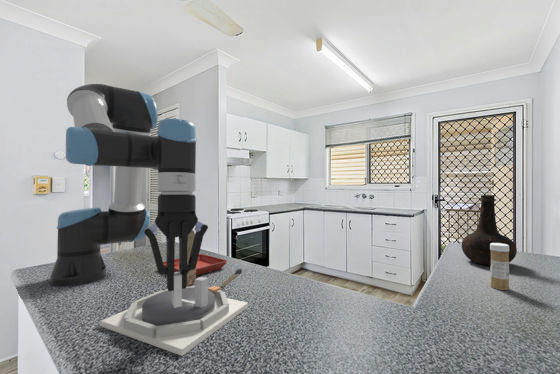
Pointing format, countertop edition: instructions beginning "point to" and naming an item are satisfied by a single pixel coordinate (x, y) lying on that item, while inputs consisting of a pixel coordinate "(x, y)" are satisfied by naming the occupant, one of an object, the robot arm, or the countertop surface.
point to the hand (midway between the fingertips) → (176, 304)
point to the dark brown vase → (486, 235)
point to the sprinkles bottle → (499, 266)
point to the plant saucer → (203, 264)
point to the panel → (180, 339)
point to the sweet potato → (192, 273)
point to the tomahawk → (230, 279)
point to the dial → (193, 306)
